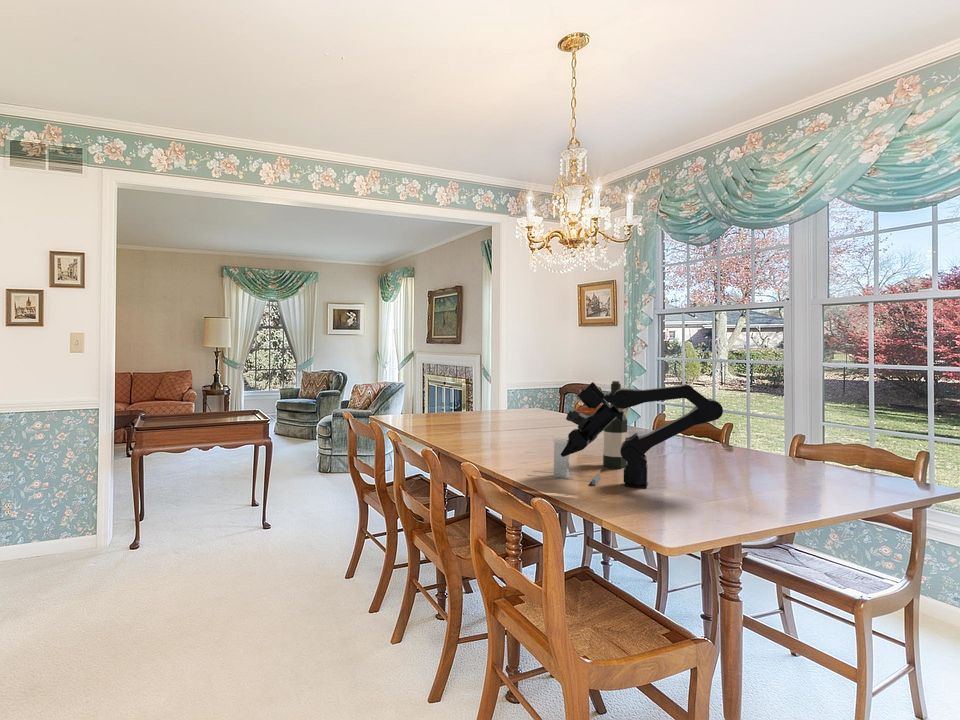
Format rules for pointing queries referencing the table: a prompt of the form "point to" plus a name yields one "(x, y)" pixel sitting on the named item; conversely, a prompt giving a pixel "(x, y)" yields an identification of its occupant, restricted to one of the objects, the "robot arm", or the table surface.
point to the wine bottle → (614, 438)
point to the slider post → (560, 458)
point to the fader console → (593, 482)
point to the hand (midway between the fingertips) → (565, 453)
